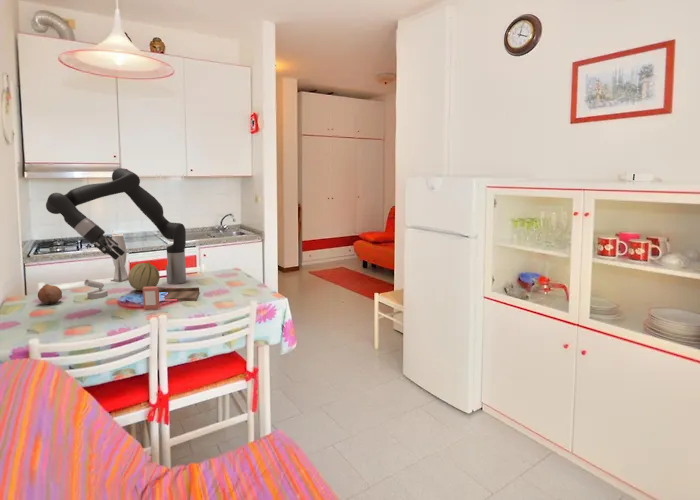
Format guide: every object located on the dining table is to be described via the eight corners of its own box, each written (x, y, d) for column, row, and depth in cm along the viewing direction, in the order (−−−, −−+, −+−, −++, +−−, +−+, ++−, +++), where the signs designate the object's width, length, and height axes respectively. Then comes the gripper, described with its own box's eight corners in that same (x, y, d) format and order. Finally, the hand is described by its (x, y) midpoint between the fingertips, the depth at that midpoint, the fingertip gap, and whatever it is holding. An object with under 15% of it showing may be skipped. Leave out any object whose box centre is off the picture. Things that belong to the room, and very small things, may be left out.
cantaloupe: (122, 292, 227) (120, 263, 225) (145, 285, 241) (143, 258, 238) (144, 296, 222) (142, 266, 219) (166, 288, 235) (165, 261, 233)
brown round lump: (45, 308, 210) (39, 288, 210) (67, 301, 213) (61, 281, 213) (38, 307, 201) (31, 286, 201) (60, 299, 204) (54, 279, 204)
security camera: (79, 278, 215) (98, 274, 224) (81, 297, 217) (100, 292, 226) (91, 281, 212) (110, 276, 221) (92, 300, 214) (111, 295, 222)
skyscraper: (109, 280, 249) (104, 231, 244) (121, 277, 256) (117, 229, 251) (120, 282, 246) (116, 232, 241) (132, 279, 253) (128, 230, 248)
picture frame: (143, 310, 201) (142, 288, 199) (145, 307, 204) (144, 286, 202) (158, 309, 202) (156, 288, 201) (159, 307, 206) (158, 286, 204)
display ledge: (152, 302, 212) (151, 296, 212) (157, 294, 225) (157, 288, 224) (196, 300, 216) (195, 294, 216) (199, 293, 229) (199, 287, 228)
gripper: (90, 226, 185) (122, 253, 190) (101, 222, 199) (130, 247, 203) (77, 239, 185) (109, 265, 190) (89, 234, 199) (119, 258, 203)
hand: (120, 256), depth 197 cm, fingers open, 8 cm apart
